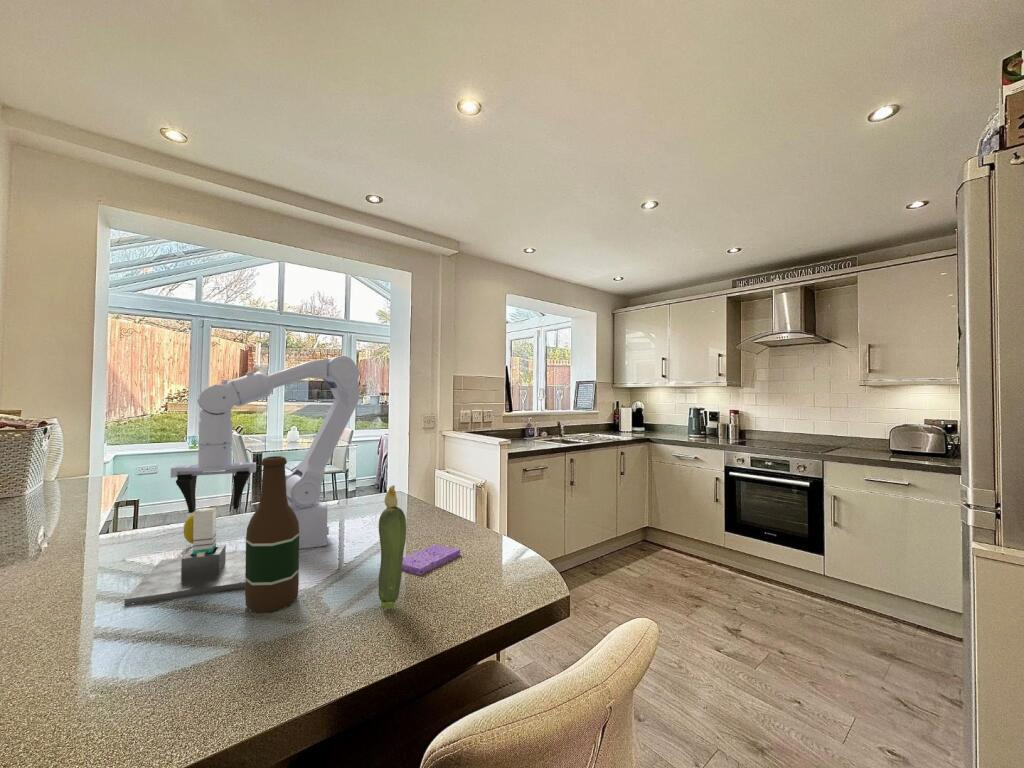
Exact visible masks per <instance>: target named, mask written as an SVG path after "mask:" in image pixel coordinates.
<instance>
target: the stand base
mask: <svg viewBox="0 0 1024 768" xmlns="http://www.w3.org/2000/svg"><path fill="white" fill-rule="evenodd" d="M192 553H193V547H192V548H191V547H190V548H189V549H188V551H187V552H186V553H185V554H184V555H183V557H177V558H166V559H161V560H160V561H159V562H158V563H157V564H156V566H154V568H153V569H152V570H151V571H149V573H148V574H146V576H145V577H144V578H143V579H142V580H141V582H139V583H138V584H137V585H136V586H135V588H134V589H133V590H131V592H130V593H129V594H128V595H127V596H126V597H125V598H124V606H128V605H127V604H131V605H133V604H132V603H138V604H141V603H140V602H144V603H148V602H147V601H151V602H156V601H157V602H158V601H164V600H172V599H179V598H185V596H186V597H190V596H191V597H193V596H198V595H205V594H206V595H207V594H213V593H219V592H226V591H232V590H238V589H239V590H240V589H245V570H246V549H244V550H236V551H228V552H226V544H218V545H217V544H216V550H215V551H214V553H213V554H206V551H203V552H198V553H197V555H196V556H192ZM178 597H179V598H178ZM171 598H172V599H171Z"/></svg>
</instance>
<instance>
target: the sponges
mask: <svg viewBox="0 0 1024 768" xmlns="http://www.w3.org/2000/svg"><path fill="white" fill-rule="evenodd" d="M460 554H461V549H460V548H455V547H451V546H449V547H448V546H444V545H440V544H436V543H434V544H433V545H431V546H428V547H426V548H424V549H421V550H419V551H416V552H414V553H411V554H408V555H405V556H403V562H402V571H404V572H407V573H411V574H415V575H419V576H421V575H423V574H425V573H427V572H429V571H431V570H433V569H435V568H438V567H439V566H441V565H444V564H445V563H447V562H449V561H451V560H453V559H455V558H457V557H459V556H460Z"/></svg>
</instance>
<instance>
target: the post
mask: <svg viewBox="0 0 1024 768" xmlns="http://www.w3.org/2000/svg"><path fill="white" fill-rule="evenodd" d="M193 514H194V520H193V544H192V548H193V553H192V556H196V555H197V553H198V552H203V551H206V554H213V553H214V551H215V550H216V545H217V507H209V508H199V509H196V510H195V511H194V512H193Z"/></svg>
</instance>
